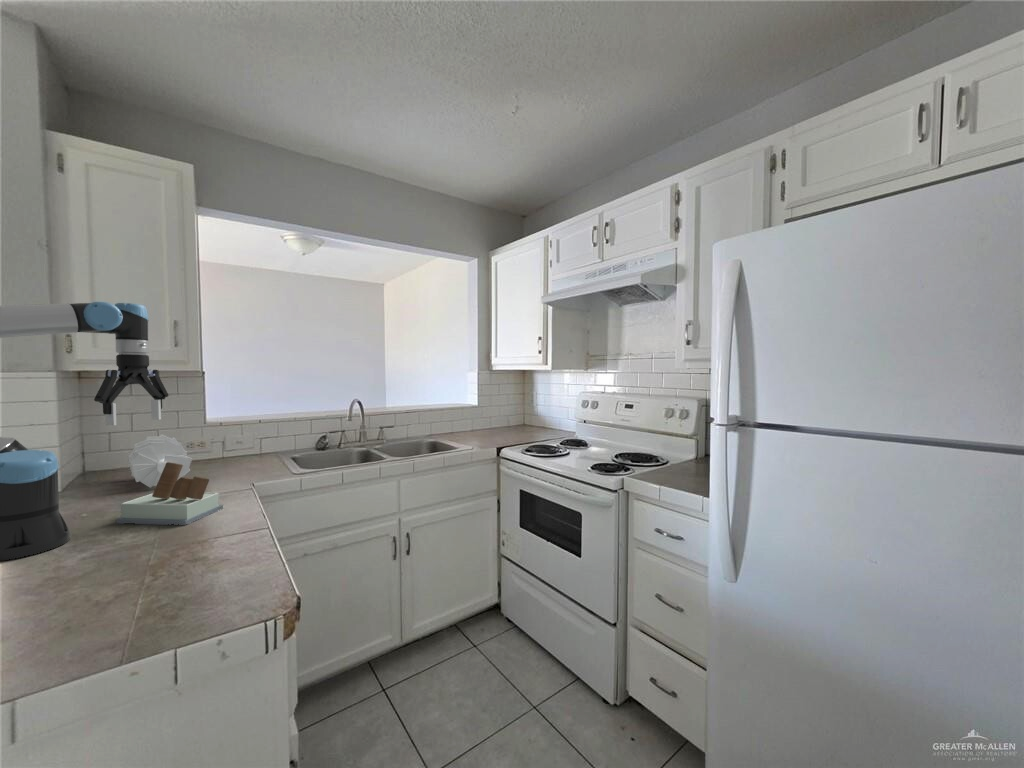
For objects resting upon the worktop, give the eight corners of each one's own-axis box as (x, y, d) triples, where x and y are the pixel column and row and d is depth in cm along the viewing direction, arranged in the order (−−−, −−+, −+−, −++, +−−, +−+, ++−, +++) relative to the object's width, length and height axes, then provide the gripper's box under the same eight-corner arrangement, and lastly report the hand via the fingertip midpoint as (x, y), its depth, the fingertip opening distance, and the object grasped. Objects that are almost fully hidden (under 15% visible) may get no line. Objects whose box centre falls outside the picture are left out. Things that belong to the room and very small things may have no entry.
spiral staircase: (149, 502, 149) (142, 484, 166) (203, 473, 160) (191, 460, 177) (117, 460, 142) (114, 447, 160) (176, 434, 153) (167, 424, 171)
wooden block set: (206, 505, 124) (219, 471, 127) (175, 503, 117) (190, 467, 120) (170, 495, 131) (183, 463, 134) (139, 493, 123) (153, 459, 126)
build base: (185, 525, 117) (185, 506, 117) (115, 523, 118) (115, 504, 118) (222, 508, 131) (222, 491, 131) (160, 507, 132) (159, 490, 132)
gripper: (98, 352, 115) (100, 428, 116) (180, 355, 139) (182, 417, 140) (75, 352, 116) (77, 427, 117) (161, 355, 140) (162, 417, 141)
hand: (135, 422), depth 128 cm, fingers open, 13 cm apart
